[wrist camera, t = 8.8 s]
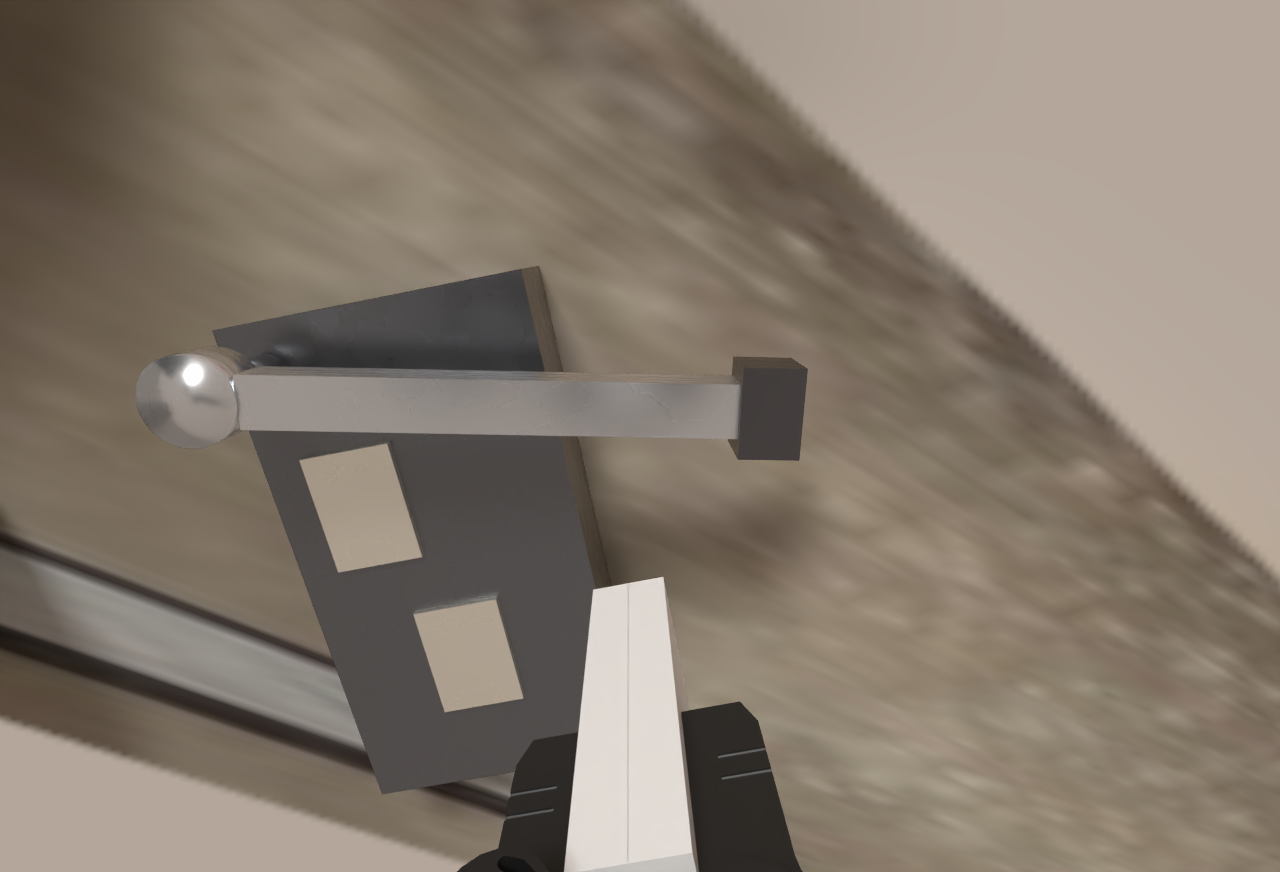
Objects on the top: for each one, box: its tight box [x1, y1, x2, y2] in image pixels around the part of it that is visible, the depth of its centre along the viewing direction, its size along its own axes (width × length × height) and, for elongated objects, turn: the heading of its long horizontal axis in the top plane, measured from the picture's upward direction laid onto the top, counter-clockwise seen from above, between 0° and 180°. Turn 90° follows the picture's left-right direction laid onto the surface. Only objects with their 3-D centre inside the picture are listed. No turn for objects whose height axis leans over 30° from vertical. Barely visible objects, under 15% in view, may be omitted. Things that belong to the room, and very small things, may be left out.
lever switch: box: [213, 266, 611, 794], centre depth 29 cm, size 22×12×8 cm, turn 11°
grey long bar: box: [135, 346, 808, 461], centre depth 22 cm, size 21×3×2 cm, turn 89°
